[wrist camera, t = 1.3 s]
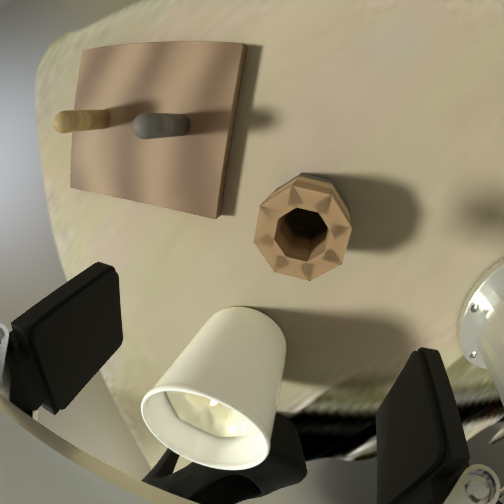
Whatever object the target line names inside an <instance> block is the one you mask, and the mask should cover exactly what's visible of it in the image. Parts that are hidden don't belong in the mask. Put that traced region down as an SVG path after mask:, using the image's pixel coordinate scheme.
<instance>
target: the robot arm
mask: <svg viewBox="0 0 504 504" xmlns="http://www.w3.org/2000/svg"><path fill="white" fill-rule="evenodd" d="M11 326H12V329H13V330H12V331H11V332H10V333H9V331H8V329H7V327H6V326H4V325H3V324H1V323H0V504H199V503H196V502H193V501H190V500H187V499H185V498H182V497H179V496H176V495H174V494H171V493H169V492H166V491H164V490H161V489H159V488H156V487H154V486H152V485H149V484H147V483H145V482H142V481H140V480H138V479H136V478H133V477H131V476H129V475H127V474H125V473H123V472H121V471H119V470H117V469H115V468H113V467H111V466H109V465H107V464H105V463H103V462H102V461H100V460H98V459H96V458H94V457H92V456H91V455H89V454H87V453H85V452H84V451H82V450H80V449H78V448H77V447H75V446H74V445H72V444H70V443H69V442H67V441H66V440H64V439H62V438H61V437H59V436H58V435H56V434H54V433H53V432H52V431H50V430H49V429H47V428H46V427H44V426H43V425H41V424H40V423H38V408H39V407H40V406H41V405H42V406H43V408H45V409H46V410H48V411H49V412H51V413H52V414H54V415H55V414H56V413H57V412H58V411H59V410H60V409H61V410H63V409H65V408H66V407H67V406H68V405H69V404H70V402H71V401H72V400H73V399H74V398H75V396H77V394H78V393H79V392H80V391H81V390H82V389H83V387H84V386H85V385H86V384H87V383H88V382H89V380H91V378H92V377H93V376H94V375H95V374H96V373H97V372H98V371H99V369H100V368H101V367H102V366H103V365H104V364H105V363H106V362H107V360H108V359H109V358H110V357H111V356H112V355H113V354H114V353H115V352H116V350H117V349H118V348H119V347H120V346H121V344H122V341H123V331H122V320H121V307H120V291H119V276H118V273H117V272H116V271H115V268H114V267H113V266H110V265H107V264H104V263H101V262H97V263H95V264H93V265H92V266H90V267H89V268H87V269H86V270H84V271H83V272H81V273H80V274H78V275H77V276H75V277H74V278H72V279H71V280H69V281H68V282H67V283H65V284H64V285H62V286H61V287H59V288H58V289H56V290H55V291H54V292H52V293H51V294H49V295H48V296H47V297H45V298H44V299H42V300H41V301H40V302H38V303H37V304H35V305H34V306H33V307H31V308H30V309H29V310H27V311H26V312H25V313H23V314H22V315H21V316H19V317H18V318H17V319H15V320H14V321H13V322H11ZM458 340H459V345H460V347H461V349H462V352H463V354H464V356H465V357H466V359H467V360H468V361H469V362H470V363H472V364H473V365H474V366H477V367H479V368H482V369H488V371H489V373H490V375H491V377H492V380H493V382H494V384H495V387H496V389H497V391H498V394H499V396H500V399H501V401H502V404H503V406H504V259H502V260H501V261H499V262H497V263H496V264H495V265H493V266H492V267H491V268H490V269H489V270H488V271H486V272H485V273H484V275H483V276H482V277H481V278H480V279H479V280H478V281H477V283H476V284H475V286H474V287H473V288H472V290H471V291H470V293H469V295H468V297H467V299H466V301H465V303H464V305H463V308H462V311H461V313H460V317H459V322H458ZM376 434H377V504H502V503H501V502H500V501H499V500H498V498H499V494H500V483H499V480H498V477H497V476H496V474H495V473H494V472H493V471H492V470H491V469H490V468H488V467H487V466H485V465H480V464H476V465H471V466H469V461H468V460H469V459H470V455H469V451H468V446H467V442H466V438H465V434H464V430H463V426H462V423H461V419H460V415H459V412H458V408H457V405H456V402H455V398H454V395H453V392H452V388H451V385H450V382H449V379H448V376H447V373H446V370H445V367H444V364H443V361H442V359H441V356H440V353H439V351H437V350H434V349H428V348H423V347H421V348H419V349H418V351H413V352H412V354H411V355H410V357H409V359H408V361H407V363H406V364H405V366H404V368H403V370H402V371H401V373H400V375H399V377H398V378H397V380H396V382H395V383H394V385H393V387H392V388H391V390H390V391H389V393H388V395H387V396H386V398H385V399H384V401H383V403H382V404H381V406H380V407H379V409H378V411H377V414H376Z"/></svg>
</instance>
